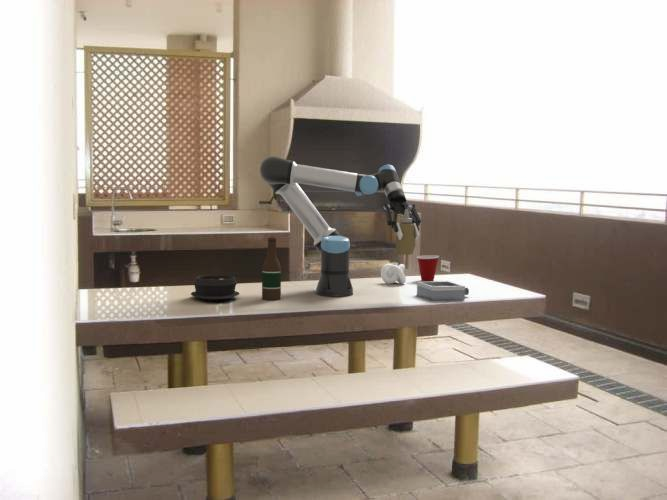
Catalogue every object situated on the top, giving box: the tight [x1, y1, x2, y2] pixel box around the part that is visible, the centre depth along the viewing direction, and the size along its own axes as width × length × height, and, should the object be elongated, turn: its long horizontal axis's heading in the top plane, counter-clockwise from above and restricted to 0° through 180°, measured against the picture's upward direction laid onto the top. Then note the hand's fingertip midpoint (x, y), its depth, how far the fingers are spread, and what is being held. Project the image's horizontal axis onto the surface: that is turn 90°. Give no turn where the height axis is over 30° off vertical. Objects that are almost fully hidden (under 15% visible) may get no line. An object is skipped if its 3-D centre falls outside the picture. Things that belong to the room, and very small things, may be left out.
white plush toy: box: [380, 263, 407, 285], centre depth 312 cm, size 11×12×9 cm
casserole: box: [190, 274, 240, 302], centre depth 260 cm, size 25×19×8 cm
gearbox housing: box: [416, 280, 470, 302], centre depth 274 cm, size 19×15×6 cm
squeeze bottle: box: [395, 208, 416, 256], centre depth 270 cm, size 8×8×18 cm
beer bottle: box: [261, 236, 282, 301], centre depth 261 cm, size 8×8×24 cm
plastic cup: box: [416, 254, 440, 282], centre depth 324 cm, size 11×11×12 cm
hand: (409, 237), depth 267 cm, fingers closed on squeeze bottle, 6 cm apart
